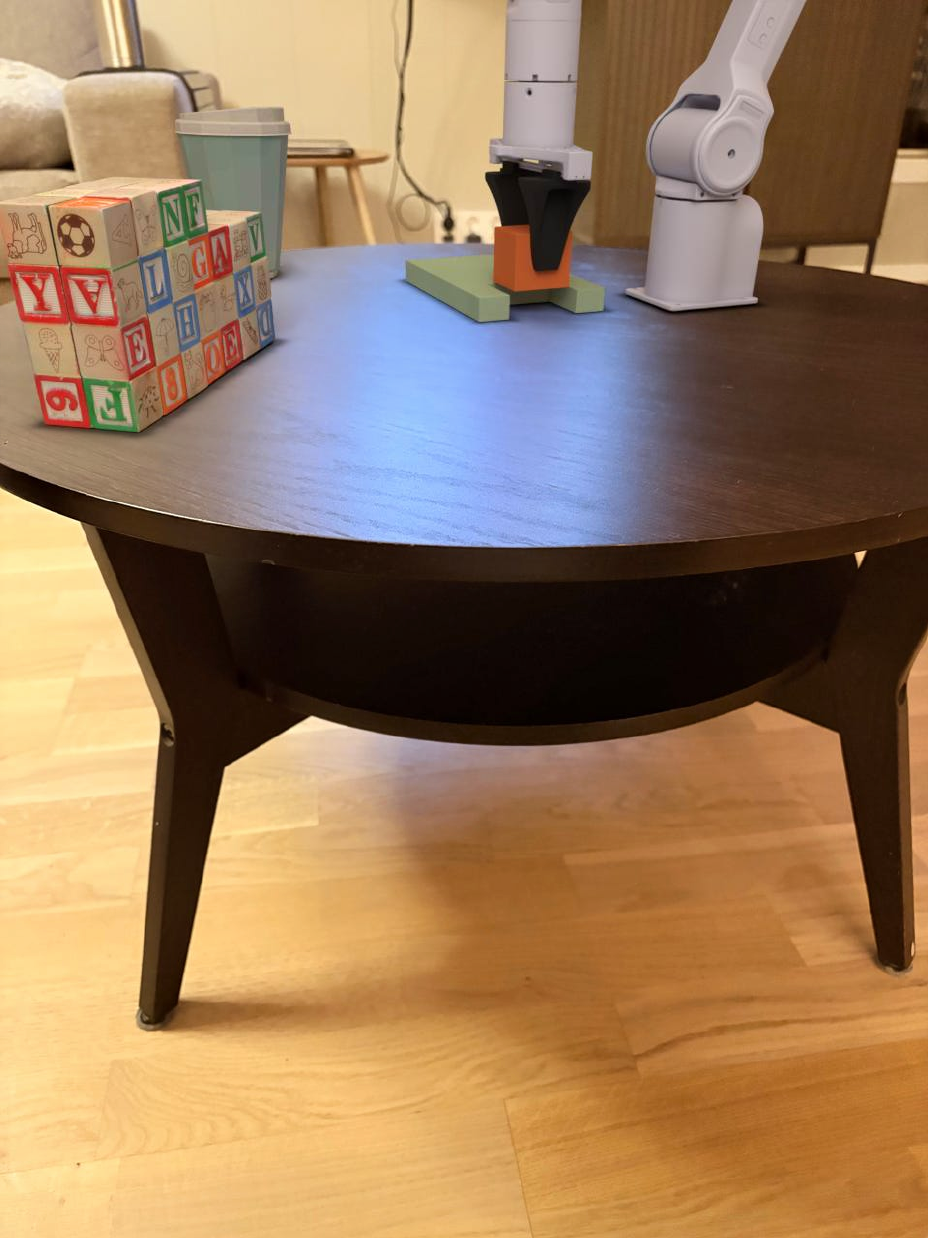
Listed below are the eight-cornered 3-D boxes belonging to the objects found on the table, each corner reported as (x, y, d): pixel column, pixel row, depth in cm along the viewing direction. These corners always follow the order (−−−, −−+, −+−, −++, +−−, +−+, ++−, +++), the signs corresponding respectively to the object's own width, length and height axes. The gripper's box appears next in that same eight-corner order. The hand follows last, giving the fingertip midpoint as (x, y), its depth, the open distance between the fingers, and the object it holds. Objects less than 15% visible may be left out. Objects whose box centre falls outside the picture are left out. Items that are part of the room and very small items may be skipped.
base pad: (515, 273, 96) (516, 252, 95) (603, 310, 82) (605, 287, 81) (405, 281, 92) (405, 259, 91) (479, 322, 78) (479, 297, 77)
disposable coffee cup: (171, 280, 91) (145, 105, 83) (231, 262, 99) (213, 101, 92) (266, 290, 88) (249, 108, 80) (320, 269, 96) (309, 104, 88)
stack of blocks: (201, 336, 73) (178, 161, 66) (277, 341, 72) (261, 164, 65) (42, 425, 55) (-10, 198, 48) (140, 434, 54) (99, 202, 47)
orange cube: (545, 277, 83) (548, 223, 81) (569, 287, 80) (572, 230, 77) (492, 281, 81) (494, 226, 79) (514, 291, 78) (516, 234, 76)
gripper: (457, 79, 77) (457, 252, 84) (536, 83, 66) (528, 284, 73) (533, 79, 79) (526, 248, 86) (622, 83, 68) (606, 277, 75)
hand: (532, 264), depth 80 cm, fingers closed on orange cube, 4 cm apart
